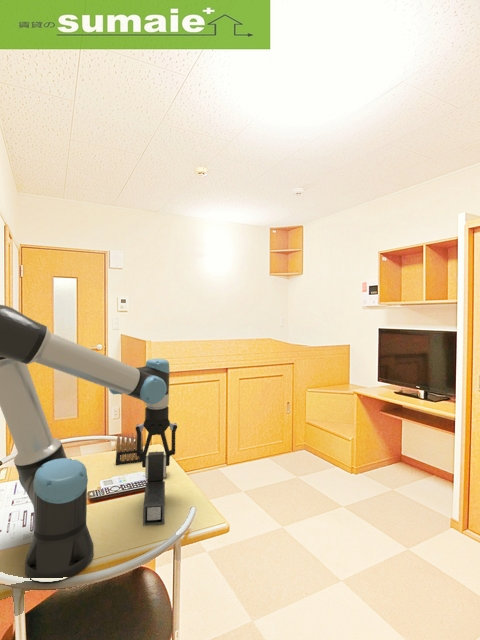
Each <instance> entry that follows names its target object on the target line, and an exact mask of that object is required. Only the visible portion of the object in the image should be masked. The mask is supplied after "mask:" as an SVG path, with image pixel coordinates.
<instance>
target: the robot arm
mask: <svg viewBox="0 0 480 640" xmlns="http://www.w3.org/2000/svg"><path fill="white" fill-rule="evenodd" d="M32 363H37V364H39V365H43V366H44V367H48V368H51V369H53V370H57V371H58V372H61V373H65V374H67V375H70V376H73V377H76V378H78V379H82V380H84V381H87V382H90V383H93V384H96V385H99V386H102V387H104V388H107V389H108V391H109V392H110V393H111V394H112V395H123V394H124V395H126V396H128V397H132V398H134V399H137V400H140V401H142V402H144V405H145V406H146V407H145V409H144V422H143V423H140V424H136V426H135V431H136V433H137V457H142V462H141V466H142V468H145V479H147V478H148V451H149V447H150V444H151V440H152V437H153V436H155V435H157V436H160V438H161V441H162V444H163V450H164V472H163V477H166V478H167V467H169V466H170V464H171V463H170V459H171V456H174V455H176V431H177V429H178V424H177V423H176V422H174V423H172V422H171V421H170V420H169V419H170V418H169V413H170V412H169V401H170V397H169V396H170V390H169V389H170V374H171V372H170V361H168V360H167V359H165V358H151V359H147V360H146V362H145V366H141V367H140V366H139V367H134V366H131V365H128V364H127V363H125V362H122V361H120V360H117V359H115V358H113V357H110V356H107V355H105V354H102V353H101V352H99V351H98V352H97V351H95V350H93V349H90V348H88V347H86V346H84V345H82V344H81V345H80V344H78V343H76V342H74V341H71V340H68V339H66V338H65V337H61V336H59V335H57V334H54V333H52V332H51V331H50V330H49V327H48V325H47V326H46V325H44V324H42V323H40V322H38V321H36V320H33V319H32V318H30V317H28V316H27V315H25V314H23V313H21V312H20V311H18V310H16V309H15V308H13V307H11V306H8V305H4V304H0V409H1V412H2V414H3V417H4V420H5V422H6V426H7V429H8V431H9V433H10V436H11V438H12V440H13V443H14V447H15V449H16V452H17V453H16V455H15V457H14V459H13V463H14V466H15V469H16V471H17V473H18V474H17V475H18V479H19V481H18V482H19V483H20V485H21V487H22V488H23V489H24V491H25V492H26V495H27V497H28V498H29V500H30V502H31V504H32V506H33V536H32V540H31V543H30V545H29V548H28V551H27V553H26V556H25V563H24V572H25V575H26V577H27V578H28V577H30V578H63V577H70V578H72V577H74V576H76V575H78V574H80V572H83V570H85V569H86V568H87V567H88V565H90V564H91V562H92V560H93V558H94V541H93V538H92V536H91V534H90V531H89V528H88V525H87V509H88V508H87V507H88V506H87V505H88V504H87V503H88V499H87V498H88V481H89V478H88V472H87V468H86V465H85V464H84V463H83V462H82V461H81V460H78V459H72V458H68V457H67V455H66V452H65V450H64V447H63V443H62V441H61V440H60V439H59V438H56V437H53V434H52V431H51V429H50V426H49V423H48V420H47V418H46V414H45V412H44V409H43V406H42V403H41V400H40V398H39V395H38V392H37V389H36V387H35V383H34V381H33V377H32V376H31V373H30V370H29V366H28V365H30V364H32ZM168 427H170V428H169V429H170V431H171V449H170V448H169V444H168V440H167V436H166V431H167V429H168ZM144 429H145V430H146V431H147V432H148V434H147V437H146V441H145V444H144V446H143V452H142V451H141V432H142V433H143V431H144Z"/></svg>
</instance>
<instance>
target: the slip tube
mask: <svg viewBox="0 0 480 640" xmlns="http://www.w3.org/2000/svg"><path fill="white" fill-rule="evenodd" d="M164 454H165V451H149V452H147V455H148V479H147V482H161V481H164V478H163V472H164ZM160 519H161V506H154V507H147V521H148V520H160Z"/></svg>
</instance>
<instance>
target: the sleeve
mask: <svg viewBox="0 0 480 640" xmlns="http://www.w3.org/2000/svg"><path fill="white" fill-rule="evenodd" d="M165 490H166V482H165V481H164V480H163V481H161V482H148V481H147V482H145V489H144V498H143V503H142V504H143V505H142V506H143V508H142V511H143V513H142V516H143V517H142V518H143V519H142V527H143V526H155V525H165V510H166V509H165V506H166V505H165V501H166V500H165V499H166V498H165V496H166V494H165V493H166V491H165ZM154 506H161V519H160V520H148V521H147V507H154Z"/></svg>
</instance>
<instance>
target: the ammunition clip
mask: <svg viewBox="0 0 480 640" xmlns="http://www.w3.org/2000/svg"><path fill="white" fill-rule="evenodd" d="M143 438H144V437H143V431H142V432H141V451H142V452H143V451H144V439H143ZM125 440H126V441H125ZM115 446H116V449H115V465H116V466H120V465H128V464H129V465H130V464H138V463H142V457H137V432H136V433H135V435H134V433H133V432H132V433H131V437H130V434H129V433H127V435H126V438H125V434H124V433H122V435H121V436H120V434H117V438H116V445H115Z"/></svg>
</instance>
